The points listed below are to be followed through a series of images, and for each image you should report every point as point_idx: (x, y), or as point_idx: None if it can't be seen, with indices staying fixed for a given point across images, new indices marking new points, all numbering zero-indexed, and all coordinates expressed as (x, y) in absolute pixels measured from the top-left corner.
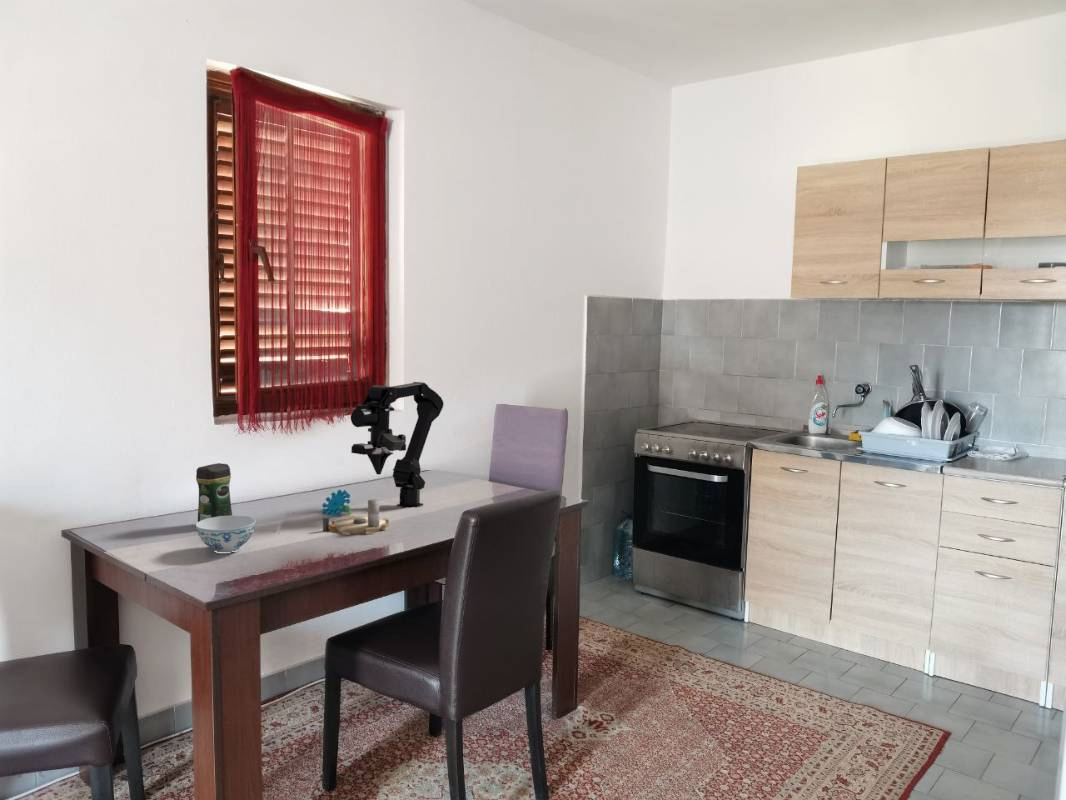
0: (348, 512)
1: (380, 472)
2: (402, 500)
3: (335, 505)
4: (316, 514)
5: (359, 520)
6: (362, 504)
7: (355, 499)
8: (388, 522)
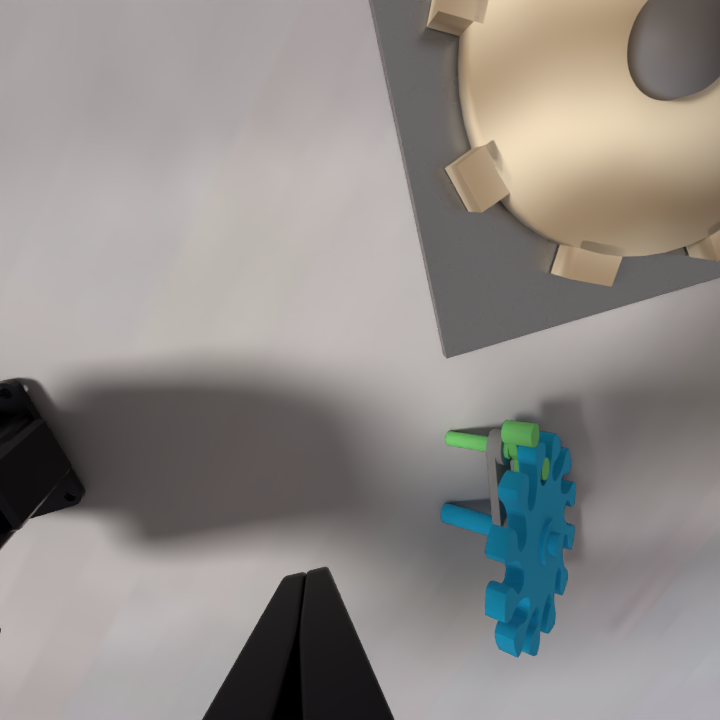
0: (484, 437)
1: (292, 594)
2: (36, 465)
3: (551, 513)
4: None
5: (712, 9)
6: None
7: None
8: None
